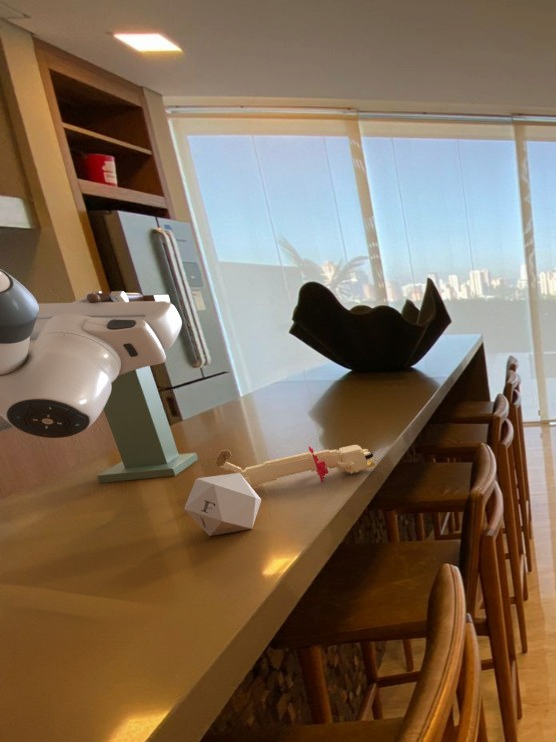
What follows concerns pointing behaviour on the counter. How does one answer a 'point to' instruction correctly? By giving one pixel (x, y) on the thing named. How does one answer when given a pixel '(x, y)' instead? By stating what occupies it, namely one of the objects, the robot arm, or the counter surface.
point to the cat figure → (301, 464)
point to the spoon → (131, 297)
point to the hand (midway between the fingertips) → (109, 295)
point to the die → (223, 504)
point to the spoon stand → (141, 431)
